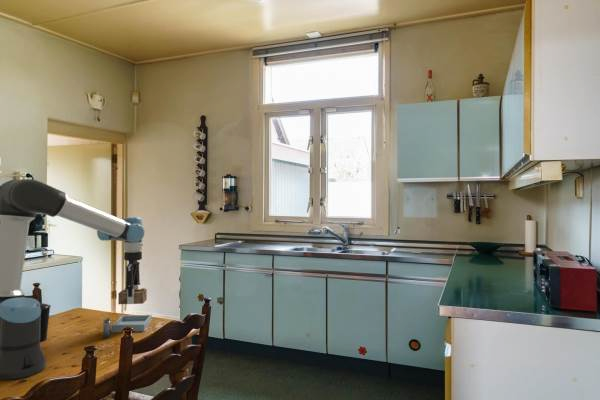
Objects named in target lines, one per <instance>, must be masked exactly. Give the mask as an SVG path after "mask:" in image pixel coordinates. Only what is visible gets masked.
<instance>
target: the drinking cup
mask: <svg viewBox="0 0 600 400" xmlns="http://www.w3.org/2000/svg"><path fill="white" fill-rule="evenodd" d="M38 301H39V303H40V309H41V317H40V343H41V342H45V341H47V335H48V331H49V330H48V327H49V320H50V309H51V307H52V306H51V304H49V303H42V291H41V290H39V291H38Z"/></svg>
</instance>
